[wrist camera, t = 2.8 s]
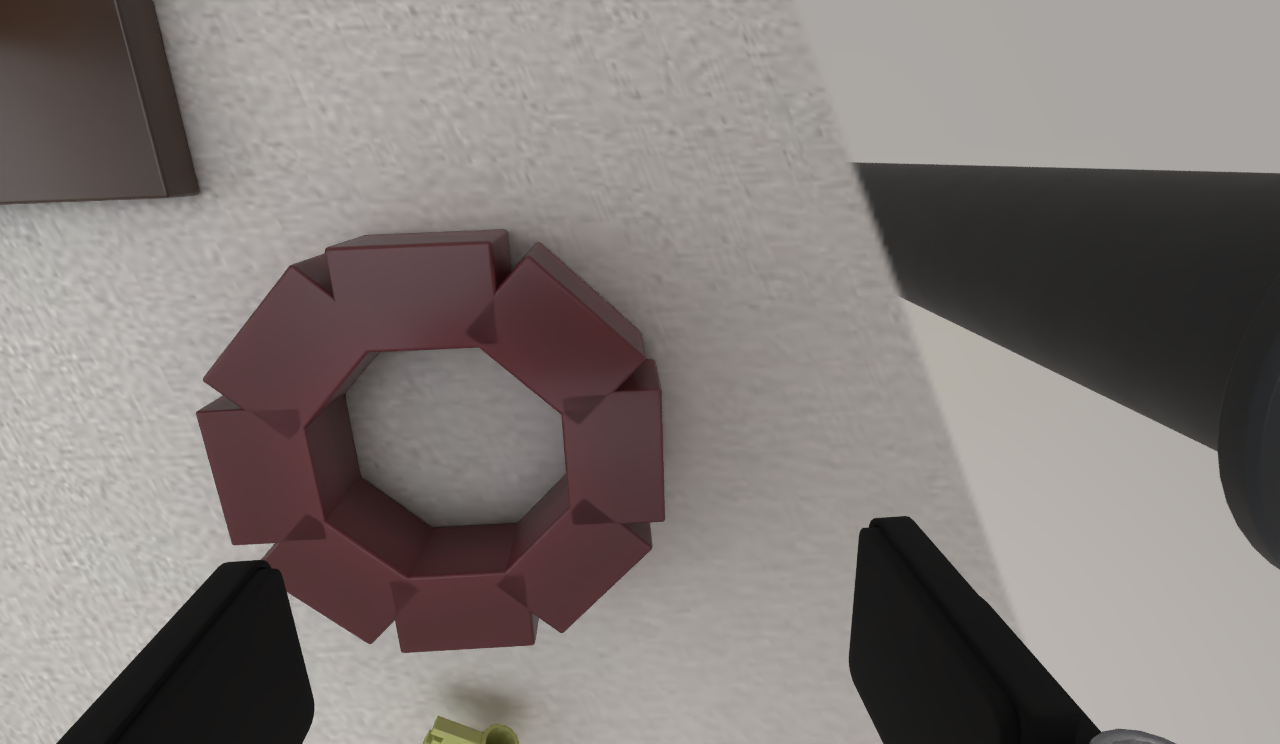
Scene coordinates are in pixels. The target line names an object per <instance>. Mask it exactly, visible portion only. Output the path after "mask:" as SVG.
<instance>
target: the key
mask: <svg viewBox="0 0 1280 744" xmlns="http://www.w3.org/2000/svg"><path fill="white" fill-rule="evenodd" d="M423 744H519V741H518V738H517V736H516V734H515V733H514V731H513V730H512V729H511V728H509V727H507V726H506V725H502V724H495V725H491V726H490V727H488V728H487V729H486V730H485V732H481V731H478V730H475V729H473V728H470V727H467V726H465V725H462V724H459V723H456V722H454V721H451V720H448V719H445V718H443V717H440V716H438V717H437V719H436V720H435V723H434V726H433V729H432V730H429V732H428V734H427V735H426V737H425V739H424V742H423Z"/></svg>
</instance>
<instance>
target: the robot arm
mask: <svg viewBox="0 0 1280 744" xmlns="http://www.w3.org/2000/svg"><path fill="white" fill-rule="evenodd" d="M849 668H850V673H851V676H852V680H853V682H854V685H855V687H856V689H857V691H858V693H859V695H860V697H861V699H862V701H863V703H864V705H865V707H866V709H867V711H868V713H869V715H870V717H871V719H872V721H873V723H874V725H875V727H876V729H877V731H878V733H879V736H880V738H881V740H882V742H883V744H1175V743H1173V742H1171V741H1169V740H1167V739H1165V738H1162V737H1159V736H1156V735H1152V734H1149V733H1146V732H1142V731H1136V730H1126V729H1115V730H1109V731H1104V732H1101V731H1100V730H1099V729H1098V728H1097V727H1096V726H1095V724H1093V722H1092V721H1091V720H1090V719H1089V718H1088V717H1087V715H1086V714H1085V713H1084V712H1083V711H1082V710H1081V708H1079V706H1078V705H1077V704H1076V703H1075V702H1074V701H1073V699H1072V698H1071V697H1070V696H1069V695H1068V694H1067V693H1066V691H1064V689H1063V688H1062V687H1061V686H1060V685H1059V684H1058V682H1057V681H1056V680H1055V679H1054V678H1053V677H1052V676H1051V674H1050V673H1049V672H1048V671H1047V670H1046V669H1045V667H1044V666H1043V665H1042V664H1041V663H1040V662H1039V661H1038V660H1037V658H1036V657H1035V656H1034V655H1033V654H1032V653H1031V652H1030V650H1029V649H1028V648H1027V647H1026V646H1025V645H1024V644H1023V642H1022V641H1021V640H1020V639H1019V638H1018V637H1017V636H1016V634H1015V633H1014V632H1013V631H1012V630H1011V629H1010V628H1009V626H1008V625H1007V624H1006V623H1005V622H1004V621H1003V620H1002V619H1001V617H1000V616H999V615H998V614H997V613H996V612H995V611H994V609H993V608H992V607H991V606H990V605H989V604H988V603H987V602H986V601H985V600H984V599H983V598H982V597H980V596H979V595H978V594H977V593H976V592H975V590H974V589H973V588H972V587H971V586H970V585H969V584H968V582H967V581H966V580H965V579H964V578H963V577H962V576H961V574H960V573H959V572H958V571H957V570H956V569H955V568H954V566H953V565H952V564H951V563H950V562H949V561H948V560H947V558H946V557H945V556H944V555H943V554H942V553H941V551H940V550H939V549H938V548H937V547H936V546H935V545H934V543H933V542H932V541H931V540H930V539H929V538H928V537H927V535H926V534H925V533H924V532H923V531H922V530H921V529H920V527H919V526H918V525H917V524H916V523H915V522H914V521H913V520H912V519H911V518H910V517H907V516H901V517H886V518H874V519H872V520H871V522H870V524H869V528H862V529H861V531H860V534H859V543H858V555H857V567H856V579H855V591H854V602H853V614H852V626H851V638H850V650H849ZM313 716H314V698H313V694H312V691H311V687H310V683H309V679H308V675H307V671H306V667H305V663H304V659H303V655H302V651H301V647H300V643H299V639H298V635H297V631H296V627H295V623H294V619H293V615H292V611H291V607H290V603H289V600H288V596H287V592H286V588H285V584H284V580H283V576H282V574H281V572H280V571H279V569H276V568H273V569H272V568H271V566H270V564H269V563H268V562H267V561H265V560H253V561H238V562H227V563H223V564H222V565H221V566H219V567H218V568H217V569H216V570H215V571H214V572H213V574H212V575H211V576H210V577H209V578H208V579H207V580H206V581H205V582H204V583H203V584H202V586H201V587H200V588H199V589H198V590H197V591H196V592H195V593H194V594H193V595H192V596H191V597H190V599H189V600H188V601H187V602H186V603H185V604H184V605H183V606H182V607H181V608H180V609H179V611H178V612H177V613H176V614H175V615H174V616H173V617H172V618H171V619H170V620H169V621H168V623H167V624H166V625H165V626H164V627H163V628H162V629H161V630H160V631H159V632H158V633H157V635H156V636H155V637H154V638H153V639H152V640H151V641H150V642H149V643H148V644H147V645H146V647H145V648H144V649H143V650H142V651H141V652H140V653H139V654H138V655H137V656H136V657H135V659H134V660H133V661H132V662H131V663H130V664H129V665H128V666H127V667H126V668H125V669H124V670H123V672H122V673H121V674H120V675H119V676H118V677H117V678H116V679H115V680H114V681H113V682H112V684H111V685H110V686H109V687H108V688H107V689H106V690H105V691H104V692H103V693H102V694H101V696H100V697H99V698H98V699H97V700H96V701H95V702H94V703H93V704H92V705H91V706H90V708H89V709H88V710H87V711H86V712H85V713H84V714H83V715H82V716H81V717H80V718H79V720H78V721H77V722H76V723H75V724H74V725H73V726H72V727H71V728H70V729H69V730H68V732H67V733H66V734H65V735H64V736H63V737H62V738H61V739H60V740H59V741H58V742H57V743H56V744H302V743H303V741H304V739H305V737H306V735H307V733H308V731H309V729H310V726H311V724H312V720H313Z"/></svg>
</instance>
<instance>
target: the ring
mask: <svg viewBox="0 0 1280 744" xmlns="http://www.w3.org/2000/svg"><path fill="white" fill-rule="evenodd" d="M476 347H479V348H480V349H482V350H483V351H484V352H485V353H486V354H488V355H489V356H490V357H491V358H493V359H494V360H495V361H496V362H498V363H499V364H500V365H501V366H502V367H504V368H505V369H506V370H507V371H509V372H510V373H511V374H512V375H514V376H515V377H516V378H517V379H518V380H520V381H521V382H522V383H523V384H525V385H526V386H527V387H528V388H529V389H531V390H532V391H533V392H534V393H536V394H537V395H538V396H539V397H541V398H542V399H543V400H544V401H545V402H547V403H548V404H549V405H550V406H552V407H553V408H554V409H555V410H557V411H558V412H559V413H560V414H561V415H562V427H563V439H564V452H565V464H566V475H565V476H564V477H563V478H562V479H561V480H560V481H559V482H558V483H557V484H556V485H555V486H554V487H553V488H552V489H551V490H550V491H549V492H548V493H547V494H546V495H545V496H544V497H543V498H542V499H541V500H540V501H539V502H538V503H537V504H536V505H535V506H534V507H533V508H532V509H531V510H530V511H529V512H528V513H527V514H526V515H525V516H524V517H523V518H522V519H521V520H520V521H519V522H518V523H511V524H493V525H474V526H456V527H437V528H431V527H430V526H429V525H427V524H426V523H424V522H423V521H421V520H420V519H419V518H417V517H416V516H414V515H413V514H412V513H410V512H409V511H407V510H406V509H405V508H403V507H402V506H400V505H399V504H398V503H396V502H395V501H393V500H392V499H391V498H389V497H388V496H386V495H385V494H383V493H382V492H381V491H379V490H378V489H376V488H375V487H374V486H372V485H371V484H369V483H368V482H367V481H365V480H364V479H362V478H361V477H360V473H359V468H358V463H357V458H356V452H355V447H354V442H353V437H352V432H351V427H350V422H349V417H348V411H347V406H346V401H345V396H344V393H345V392H346V391H347V390H348V388H349V387H350V386H351V385H352V384H353V383H354V381H355V380H356V379H357V378H358V377H359V375H360V374H361V373H362V372H363V371H364V369H365V368H366V367H367V366H368V365H369V364H370V362H371V361H372V360H373V359H374V358H375V356H376V355H377V354H378V353H379V352H390V351H411V350H433V349H455V348H476ZM645 359H646V357H645V351H644V346H643V340H642V334H641V332H640V331H639V330H638V329H637V328H636V327H635V326H634V325H633V324H632V323H630V322H629V321H628V320H627V319H626V318H625V317H624V316H623V315H621V314H620V313H619V312H618V311H617V310H616V309H615V308H614V307H613V306H611V305H610V304H609V303H608V302H607V301H606V300H605V299H604V298H602V297H601V296H600V295H599V294H598V293H597V292H596V291H595V290H593V289H592V288H591V287H590V286H589V285H588V284H587V283H586V282H584V281H583V280H582V279H581V278H580V277H579V276H578V275H577V274H575V273H574V272H573V271H572V270H571V269H570V268H569V267H568V266H566V265H565V264H564V263H563V262H562V261H561V260H560V259H559V258H558V257H556V256H555V255H554V254H553V253H552V252H551V251H550V250H549V249H547V248H546V247H545V246H544V245H543V244H542V243H540V242H538V243H536V244H535V245H534V246H533V247H532V249H531V250H530V251H529V252H528V253H527V254H526V255H525V257H524V258H523V259H522V260H521V261H520V262H519V263H518V265H517V266H516V267H515V268H514V269H513V270H511V260H510V250H509V240H508V232H507V231H506V230H504V229H502V230H477V231H453V232H429V233H404V234H380V235H364V236H361V237H358V238H355V239H352V240H349V241H346V242H343V243H339V244H336V245H333V246H330V247H328V248H326V249H325V254H322V255H319V256H316V257H313V258H310V259H307V260H304V261H302V262H299V263H296V264H293V265H291V266H289V267H288V269H287V270H286V271H285V273H284V274H283V275H282V276H281V278H280V279H279V280H278V282H277V283H276V284H275V286H274V287H273V288H272V289H271V291H270V292H269V293H268V295H267V296H266V297H265V298H264V300H263V301H262V302H261V304H260V305H259V306H258V308H257V309H256V310H255V311H254V313H253V314H252V315H251V317H250V318H249V319H248V321H247V322H246V323H245V324H244V326H243V327H242V328H241V330H240V331H239V332H238V333H237V335H236V336H235V337H234V339H233V340H232V341H231V343H230V344H229V345H228V346H227V348H226V349H225V350H224V352H223V353H222V354H221V355H220V357H219V358H218V359H217V361H216V362H215V363H214V365H213V366H212V367H211V368H210V370H209V371H208V372H207V374H206V375H205V376H204V378H203V381H204V382H205V383H207V384H208V385H209V386H211V387H212V388H214V389H215V390H216V391H218V392H219V393H221V394H222V395H223V396H221V397H220V398H218V399H216V400H215V401H213V402H211V403H210V404H208V405H207V406H205V407H203V408H202V409H200V410H198V411H197V412H196V415H197V419H198V422H199V426H200V430H201V433H202V437H203V441H204V444H205V448H206V451H207V455H208V459H209V462H210V466H211V469H212V473H213V477H214V480H215V484H216V488H217V491H218V495H219V498H220V502H221V506H222V509H223V513H224V517H225V520H226V524H227V527H228V531H229V535H230V538H231V542H232V544H233V545H247V544H265V543H275V544H274V545H273V546H272V548H271V549H270V550H269V551H268V552H267V553H266V554H265V556H264V557H263V558H262V559H261V560H265V561H267V562H268V563H269V564H270V566H271V568H272V569H273V568H276V569H279V571H280V572H281V574H282V576H283V580H284V584H285V588H286V592H288V593H290V594H291V595H293V596H294V597H296V598H297V599H299V600H301V601H302V602H304V603H305V604H307V605H308V606H310V607H312V608H313V609H315V610H316V611H318V612H319V613H321V614H323V615H324V616H326V617H327V618H329V619H330V620H332V621H334V622H335V623H337V624H338V625H340V626H341V627H343V628H344V629H346V630H348V631H349V632H351V633H352V634H354V635H355V636H357V637H359V638H360V639H362V640H363V641H365V642H366V643H368V644H372V643H373V642H374V641H375V640H376V639H377V638H378V637H379V636H380V635H381V634H382V633H383V632H384V631H385V630H386V629H387V628H388V627H389V626H390V625H391V624H392V623H393V621H394V620H395V622H396V627H397V633H398V638H399V643H400V648H401V652H402V653H410V652H427V651H444V650H460V649H477V648H494V647H511V646H527V645H534V643H535V640H536V633H537V627H538V621H539V618H540V619H542V620H543V621H544V622H546V623H547V624H549V625H550V626H552V627H553V628H554V629H556V630H557V631H559V632H560V633H563V632H565V631H566V630H567V629H568V628H569V627H570V626H571V625H572V624H573V623H574V622H575V621H576V620H577V619H578V618H579V617H580V616H581V615H582V614H584V613H585V612H586V611H587V610H588V609H589V608H590V607H591V606H592V605H593V604H594V603H595V602H596V601H597V600H598V599H599V598H600V597H602V596H603V595H604V594H605V593H606V592H607V591H608V590H609V589H610V588H611V587H612V586H613V585H614V584H615V583H616V582H617V581H618V580H620V579H621V578H622V577H623V576H624V575H625V574H626V573H627V572H628V571H629V570H630V569H631V568H632V567H633V566H634V565H635V564H636V563H638V562H639V561H640V560H641V559H642V558H643V557H644V556H645V555H646V554H647V553H648V552H649V551H650V550H651V549H652V537H651V528H650V522H663V521H664V520H665V500H664V462H663V425H662V391H661V386H660V381H659V377H658V372H657V367H656V363H655V360H645Z"/></svg>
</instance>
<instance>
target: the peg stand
mask: <svg viewBox="0 0 1280 744" xmlns="http://www.w3.org/2000/svg"><path fill="white" fill-rule="evenodd" d="M198 194H199V191H198V187H197V183H196V179H195V175H194V170H193V166H192V162H191V158H190V154H189V150H188V146H187V142H186V138H185V134H184V130H183V126H182V122H181V118H180V113H179V109H178V105H177V101H176V97H175V93H174V89H173V85H172V81H171V77H170V73H169V69H168V65H167V61H166V57H165V52H164V48H163V44H162V40H161V36H160V32H159V28H158V24H157V20H156V16H155V12H154V8H153V4H152V0H0V205H2V204H28V203H53V202H79V201H105V200H130V199H156V198H173V197H184V196H195V195H198Z"/></svg>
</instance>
